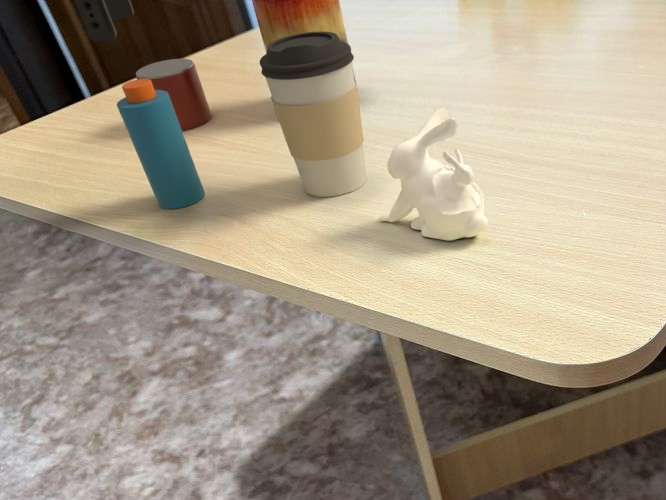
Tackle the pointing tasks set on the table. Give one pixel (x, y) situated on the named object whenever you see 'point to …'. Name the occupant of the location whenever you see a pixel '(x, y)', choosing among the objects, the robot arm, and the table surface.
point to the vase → (298, 18)
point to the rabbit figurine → (436, 185)
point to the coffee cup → (318, 110)
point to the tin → (180, 89)
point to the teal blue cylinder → (160, 144)
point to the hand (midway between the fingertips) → (115, 28)
